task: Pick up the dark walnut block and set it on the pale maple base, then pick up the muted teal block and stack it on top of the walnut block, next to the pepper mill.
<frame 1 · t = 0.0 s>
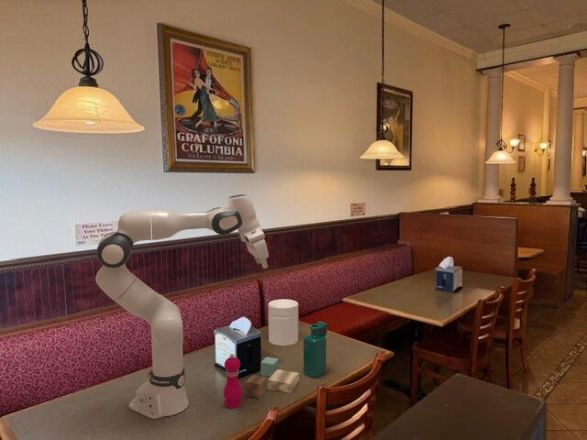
hand: (262, 265, 165), 52 cm above the table, tool tilted 20°, fingers open, 8 cm apart
walnut block: (256, 393, 167), on the table
teal block: (269, 373, 184), on the table
pepper mill: (233, 404, 160), on the table
canister: (283, 340, 223), on the table
maple base: (283, 385, 173), on the table
green water bottle: (315, 372, 185), on the table
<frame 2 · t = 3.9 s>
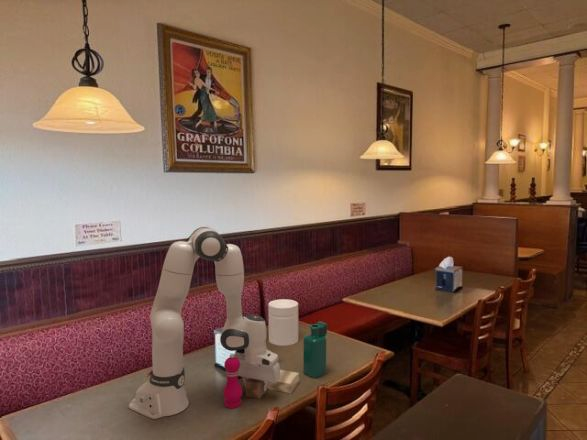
hand: (256, 388, 167), 2 cm above the table, tool pointing down, fingers closed on walnut block, 6 cm apart
walnut block: (256, 393, 167), on the table, touching gripper
everything else where it was.
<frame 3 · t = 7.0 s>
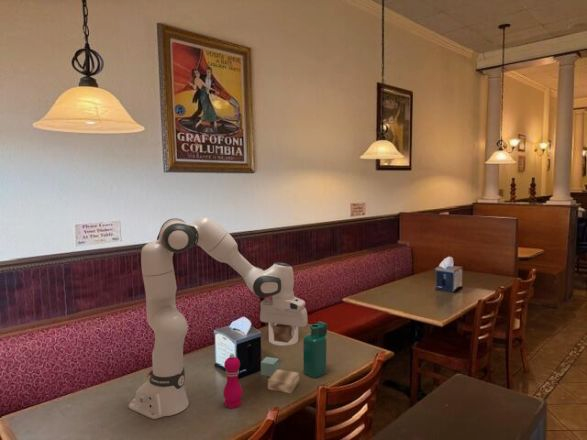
hand: (283, 334, 171), 22 cm above the table, tool pointing down, fingers closed on walnut block, 6 cm apart
walnut block: (283, 339, 171), point 20 cm above the table, touching gripper
everything else where it was.
when the fingers open (7 cm above the table, at t = 10.1 s): walnut block stays where it is, resting on maple base.
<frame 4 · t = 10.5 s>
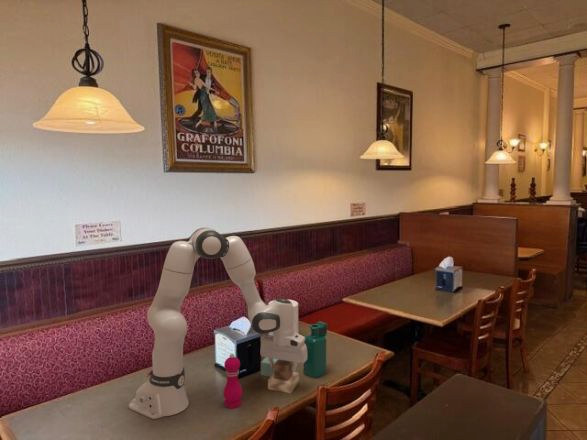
hand: (283, 369, 173), 7 cm above the table, tool pointing down, fingers open, 8 cm apart
walnut block: (283, 376, 173), point 4 cm above the table, touching maple base
everything else where it was.
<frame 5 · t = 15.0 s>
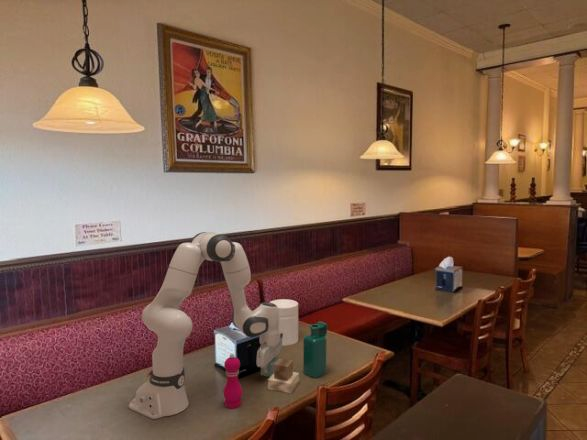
hand: (269, 368, 184), 2 cm above the table, tool pointing down, fingers closed on teal block, 6 cm apart
teal block: (269, 373, 184), on the table, touching gripper
everything else where it was.
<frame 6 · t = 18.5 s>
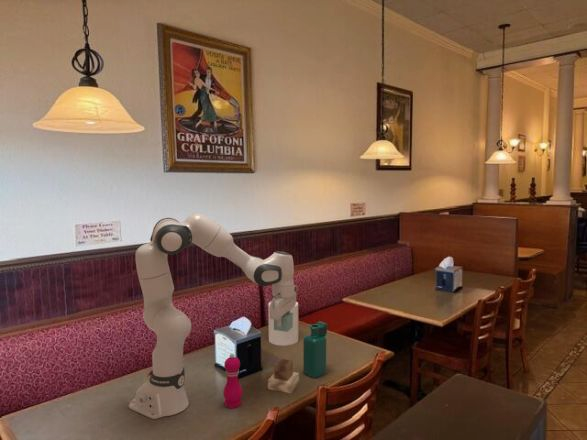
hand: (283, 323, 171), 27 cm above the table, tool pointing down, fingers closed on teal block, 6 cm apart
teal block: (283, 328, 171), point 25 cm above the table, touching gripper
everything else where it was.
when the fingers open (14 cm above the table, at t = 22.0 s): teal block drops 1 cm, resting on walnut block.
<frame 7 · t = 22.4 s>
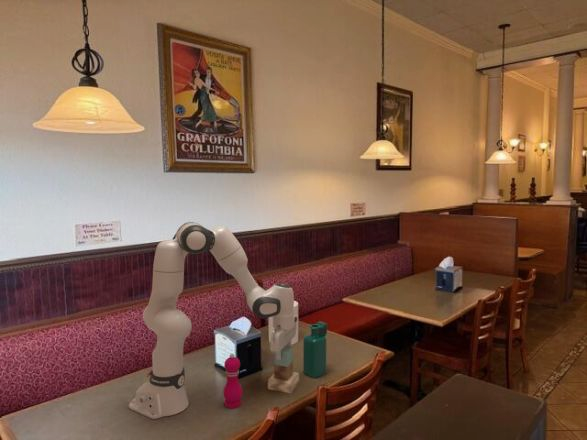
hand: (283, 354, 172), 14 cm above the table, tool pointing down, fingers open, 8 cm apart
walnut block: (283, 376, 173), point 4 cm above the table, touching maple base, teal block
teal block: (283, 362, 172), point 10 cm above the table, touching walnut block
everything else where it was.
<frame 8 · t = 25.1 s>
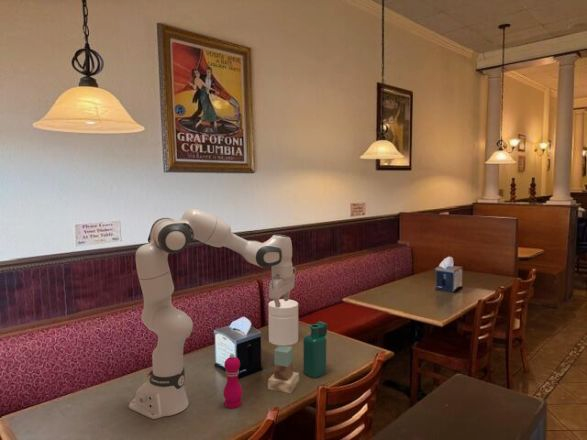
hand: (282, 303, 177), 33 cm above the table, tool pointing down, fingers open, 8 cm apart
nothing on the table moved.
at the end: walnut block 0.1 cm off-centre on the maple base, point 4.0 cm above the maple base's base; teal block 0.1 cm off-centre on the walnut block, point 6.0 cm above the walnut block's base; teal block tilted 0° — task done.
